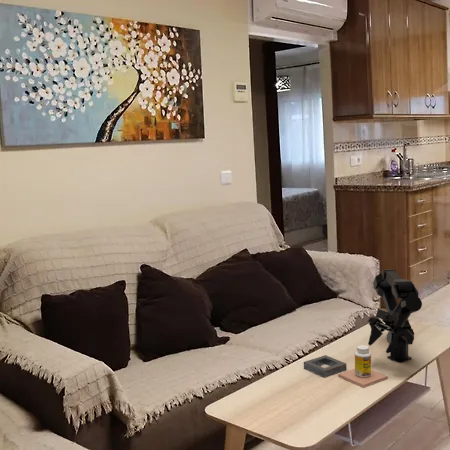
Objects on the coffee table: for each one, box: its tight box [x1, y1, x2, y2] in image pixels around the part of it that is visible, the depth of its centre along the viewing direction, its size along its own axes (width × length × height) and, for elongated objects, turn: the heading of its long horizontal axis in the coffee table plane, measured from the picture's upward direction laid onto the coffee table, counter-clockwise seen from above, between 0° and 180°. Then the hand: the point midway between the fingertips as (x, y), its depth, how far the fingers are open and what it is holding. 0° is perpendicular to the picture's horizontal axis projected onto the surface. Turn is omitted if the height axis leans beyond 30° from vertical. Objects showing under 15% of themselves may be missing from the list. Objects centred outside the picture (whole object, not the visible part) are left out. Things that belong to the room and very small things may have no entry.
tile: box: [337, 368, 389, 388], centre depth 209 cm, size 12×12×1 cm
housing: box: [303, 354, 348, 378], centre depth 218 cm, size 11×11×2 cm
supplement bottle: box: [354, 344, 372, 377], centre depth 208 cm, size 6×6×10 cm
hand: (377, 348), depth 211 cm, fingers open, 9 cm apart
